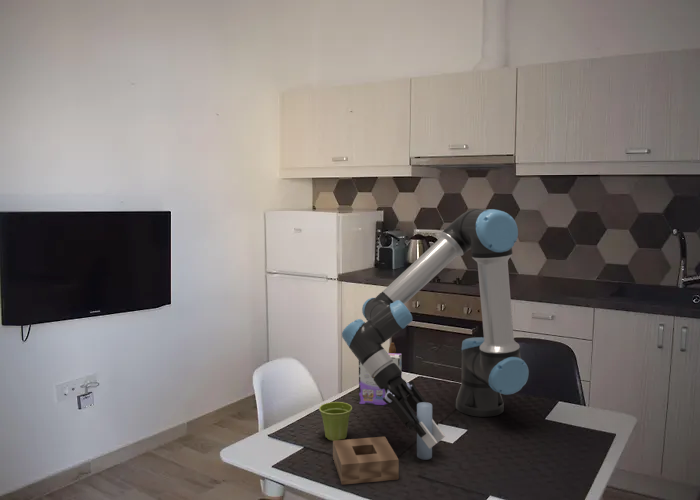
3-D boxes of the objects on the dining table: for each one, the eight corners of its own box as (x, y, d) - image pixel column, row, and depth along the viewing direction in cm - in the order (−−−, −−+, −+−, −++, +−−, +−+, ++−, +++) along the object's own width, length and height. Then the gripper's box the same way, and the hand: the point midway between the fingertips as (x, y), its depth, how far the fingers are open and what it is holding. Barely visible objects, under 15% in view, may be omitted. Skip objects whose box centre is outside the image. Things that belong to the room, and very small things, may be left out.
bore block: (384, 454, 157) (384, 436, 156) (398, 479, 143) (398, 459, 143) (333, 459, 154) (332, 440, 154) (341, 484, 140) (341, 464, 140)
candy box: (402, 401, 198) (402, 353, 196) (399, 407, 192) (399, 357, 190) (362, 398, 201) (361, 350, 199) (358, 404, 195) (358, 355, 194)
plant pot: (348, 445, 163) (348, 414, 162) (315, 442, 165) (315, 412, 164) (355, 431, 172) (355, 402, 171) (324, 429, 174) (323, 400, 173)
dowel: (429, 452, 158) (429, 401, 157) (434, 458, 154) (434, 406, 153) (414, 453, 157) (415, 402, 156) (419, 460, 153) (419, 408, 152)
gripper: (390, 370, 169) (442, 438, 162) (357, 386, 156) (412, 462, 148) (406, 355, 166) (460, 424, 158) (374, 369, 152) (432, 446, 144)
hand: (437, 442), depth 153 cm, fingers closed on dowel, 4 cm apart
